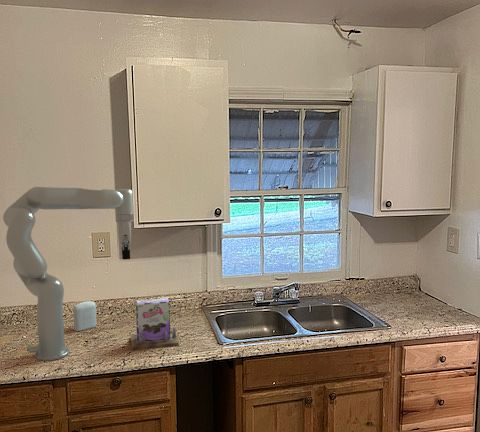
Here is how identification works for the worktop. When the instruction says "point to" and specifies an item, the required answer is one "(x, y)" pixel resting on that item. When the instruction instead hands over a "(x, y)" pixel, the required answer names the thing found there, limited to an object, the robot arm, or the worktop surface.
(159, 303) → the candy box
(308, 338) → the worktop surface
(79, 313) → the photo printer
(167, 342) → the grey tray
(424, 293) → the worktop surface
